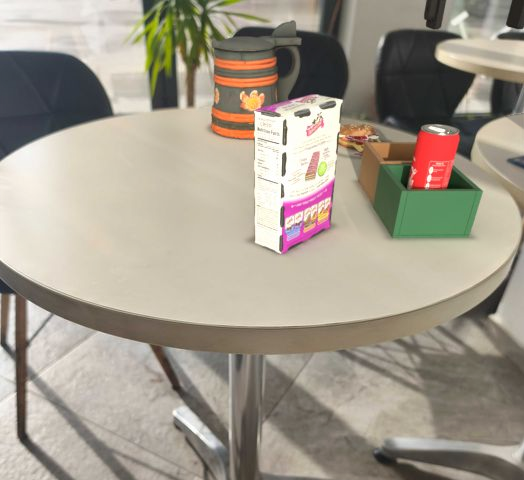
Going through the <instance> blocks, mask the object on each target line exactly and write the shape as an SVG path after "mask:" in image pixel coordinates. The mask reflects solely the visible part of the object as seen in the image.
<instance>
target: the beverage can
mask: <svg viewBox="0 0 524 480" xmlns="http://www.w3.org/2000/svg"><path fill="white" fill-rule="evenodd" d="M459 133H460V129H458V127H454V126H451V125H448V124H437V123H435V124H434V123H431V124H424V125H422V126H421V127H420V131H418V134H417V136H416V140H415V142H416V146H415V151H414V155H413V160H412V165H411V170H410V175H409V180H408V184H407V189H447V186H448V182H449V178H450V174H451V170H452V167H453V165H454V162H455V159H456V154H457V151H458V147H459V143H460V139H461V138H460V135H459Z"/></svg>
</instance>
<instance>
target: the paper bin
mask: <svg viewBox="0 0 524 480" xmlns="http://www.w3.org/2000/svg"><path fill="white" fill-rule="evenodd" d="M415 146H416V141H381V142H364V148H363V151H362V152H363V155H362V156H361V157H362V158H361V162H360V168H359V169H360V170H359V175H358V176H359V177H358V183H359V185H360V186H361V189H362V190H363V191H364V193H365V194H366V196H367V197H368V199H369V200H370V203H371V204H372V205H373V204H374V198H375V192H376V186H377V180H378V174H379V168H380V164H412V160H413V155H414V151H415Z"/></svg>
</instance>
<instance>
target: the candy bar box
mask: <svg viewBox="0 0 524 480" xmlns="http://www.w3.org/2000/svg"><path fill="white" fill-rule="evenodd" d="M343 103H344V100H343V99H341V98H337V97H331V96H327V95H321V94H312V93H311V94H308V95H304V96H300V97H296V98H293V99H289V100H288V101H285V102H281V103H277V104H274V105H270V106H266V107H263V108H259V109H255V110H254V139H253V149H254V150H253V166H254V167H253V171H254V172H253V173H254V179H253V180H254V181H253V182H254V184H253V186H254V187H253V190H254V191H253V192H254V193H253V196H254V203H253V205H254V208H253V209H254V212H253V214H254V244H255V245H257V246H259V247H261V248H265V249H267V250H270V251H272V252H274V253H277V254H279V255H283V254H285V253H288V252H289V251H290V250H293V249H294V248H296V247H298V246H299V245H301V244H303V243H305V242H306V241H308V240H310V239H312V238H314V237H316V236H317V235H319V234H321V233H323V232H324V231H326V230H328V229H330V228H331V223H332V214H333V213H332V211H333V203H334V193H335V181H336V171H337V163H338V153H339V151H338V150H339V132H340V127H341V122H342V121H341V120H342V111H343Z"/></svg>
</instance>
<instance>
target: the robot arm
mask: <svg viewBox="0 0 524 480" xmlns="http://www.w3.org/2000/svg"><path fill="white" fill-rule="evenodd" d="M446 4H447V0H425V7H424V11H423V19H424V20H425V27H426V28H428V29H431V30H440V29H441V28H442V25H443V19H444V15H445V9H446ZM505 26H507V28H511V29H515V30H523V29H524V0H511V3H510V7H509V11H508V14H507V18H506V22H505Z"/></svg>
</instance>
